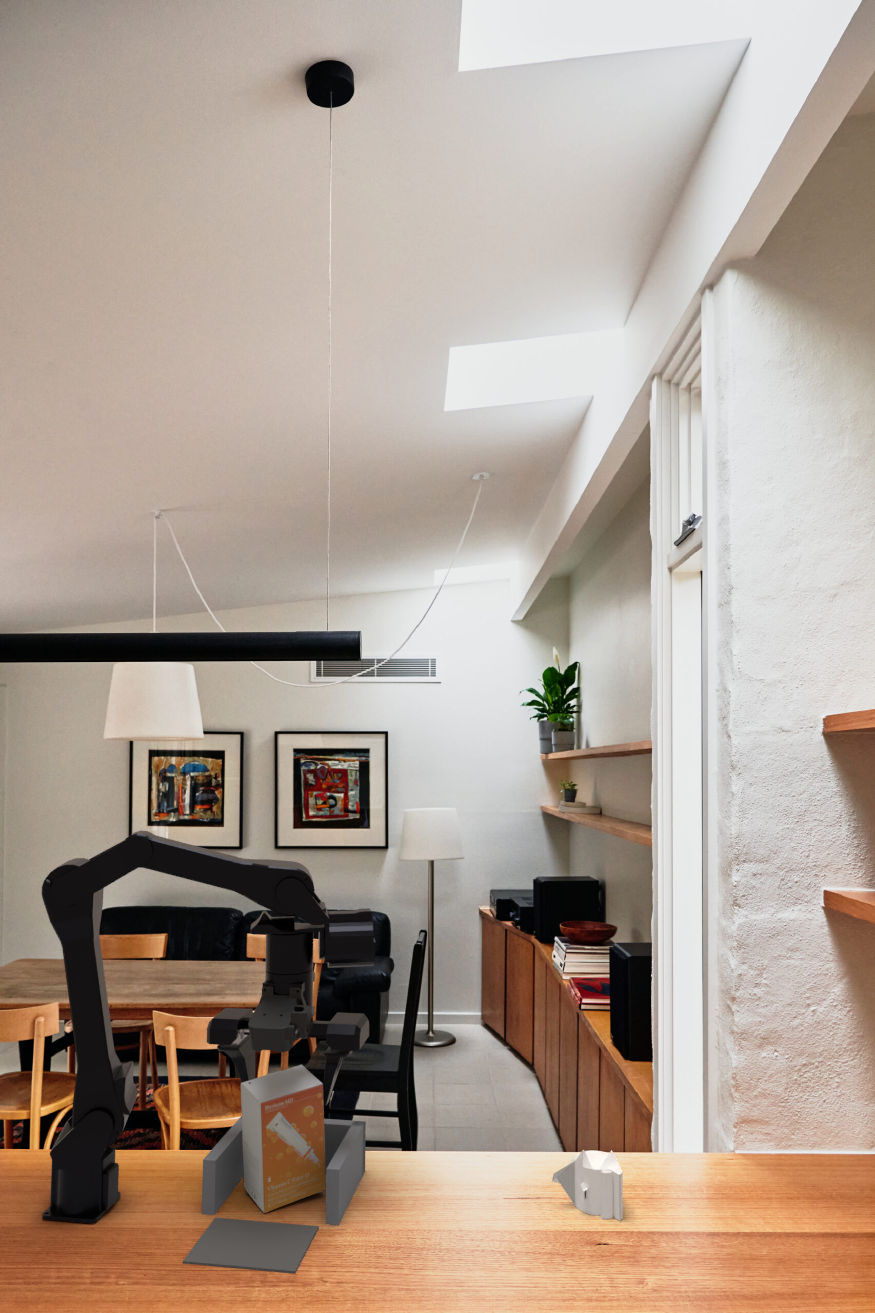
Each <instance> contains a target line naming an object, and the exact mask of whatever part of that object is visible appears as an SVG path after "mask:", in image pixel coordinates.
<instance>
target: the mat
mask: <svg viewBox="0 0 875 1313" xmlns="http://www.w3.org/2000/svg"><path fill="white" fill-rule="evenodd" d="M319 1227H320V1226H319V1225H313V1224H312V1225H311V1224H297V1223H287V1222H285V1223H284V1222H273V1221H261V1220H250V1219H238V1218H237V1219H235V1218H227V1217H226V1218H224V1217H215V1218H214V1219H213V1220H212V1221H211V1222H210V1224H209V1225H208V1226H207V1228H206V1229H205V1231H204V1232H203V1233H202V1234H201V1236H200V1237H199V1238H198V1240H197V1241H196V1242H195V1244H194V1245H193V1247H192V1248H191V1249H190V1250H189V1252H188V1253H187V1255H186V1256H185V1257H184V1259H183V1260H182V1264H183V1265H185V1264H187V1265H196V1266H206V1267H218V1268H228V1269H229V1268H230V1269H238V1270H240V1269H241V1270H252V1271H262V1272H273V1273H282V1274H284V1273H285V1274H292V1275H293V1274H294V1275H295V1274H296V1273H297V1271H298V1270H299V1268H300V1266H301V1264H300V1263H302V1262H303V1260H302V1259H304V1258H305V1256H306V1254H307V1252H308V1250H309V1248H310V1246H311V1245H310V1244H312V1243H313V1241H312V1240H314V1239H315V1237H316V1234H317V1233H318V1231H319V1229H320V1228H319ZM316 1232H317V1233H316ZM311 1242H312V1243H311ZM306 1251H307V1252H306ZM301 1261H302V1262H301Z"/></svg>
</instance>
